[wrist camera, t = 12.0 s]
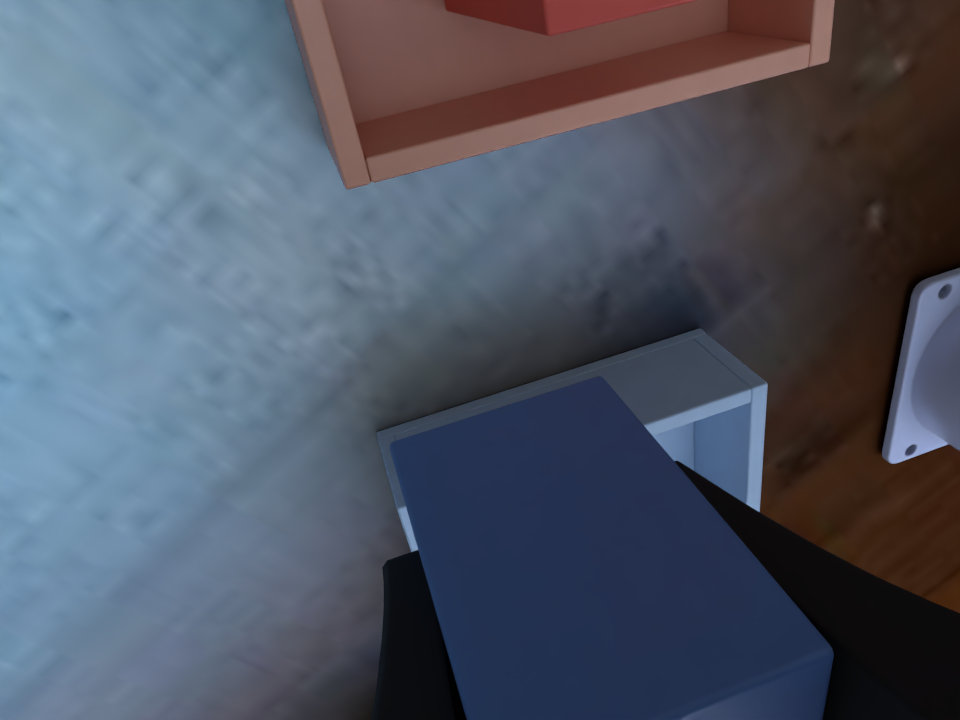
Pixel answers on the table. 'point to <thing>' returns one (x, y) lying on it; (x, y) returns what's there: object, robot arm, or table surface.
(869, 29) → the table surface
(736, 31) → the terracotta bin
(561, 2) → the red block
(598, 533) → the blue block
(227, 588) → the table surface
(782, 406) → the table surface
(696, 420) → the blue bin
